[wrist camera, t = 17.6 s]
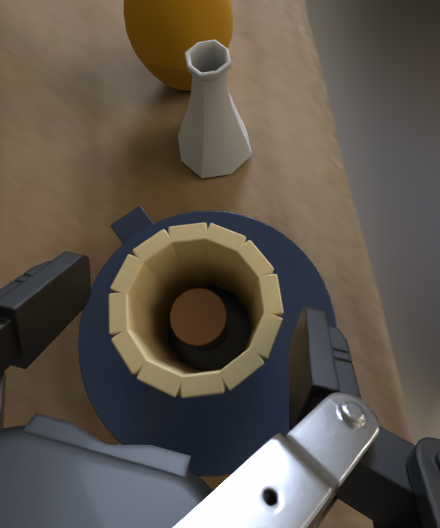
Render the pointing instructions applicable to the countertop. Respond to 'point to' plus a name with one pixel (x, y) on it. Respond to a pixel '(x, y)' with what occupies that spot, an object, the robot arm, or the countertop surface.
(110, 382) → the pot lid
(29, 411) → the countertop surface
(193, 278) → the pale yellow hollow cylinder
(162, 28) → the round orange vase
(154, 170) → the countertop surface
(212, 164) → the flask
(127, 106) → the countertop surface
